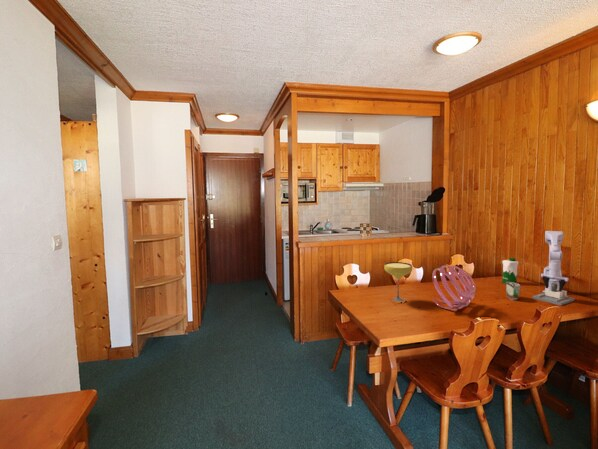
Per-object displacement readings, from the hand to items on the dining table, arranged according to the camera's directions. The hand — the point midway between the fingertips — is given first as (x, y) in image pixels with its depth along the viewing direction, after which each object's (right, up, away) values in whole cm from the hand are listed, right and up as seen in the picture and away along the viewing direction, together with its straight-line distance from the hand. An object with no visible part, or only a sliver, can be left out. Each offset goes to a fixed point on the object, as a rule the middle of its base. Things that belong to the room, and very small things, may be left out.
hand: (553, 289), depth 207 cm
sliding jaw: (+1, -5, +1) cm, 5 cm away
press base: (0, -7, +1) cm, 7 cm away
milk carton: (-3, -4, +39) cm, 40 cm away
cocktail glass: (-102, -9, +6) cm, 103 cm away
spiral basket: (-72, -10, -9) cm, 73 cm away
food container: (-23, -7, +4) cm, 25 cm away
